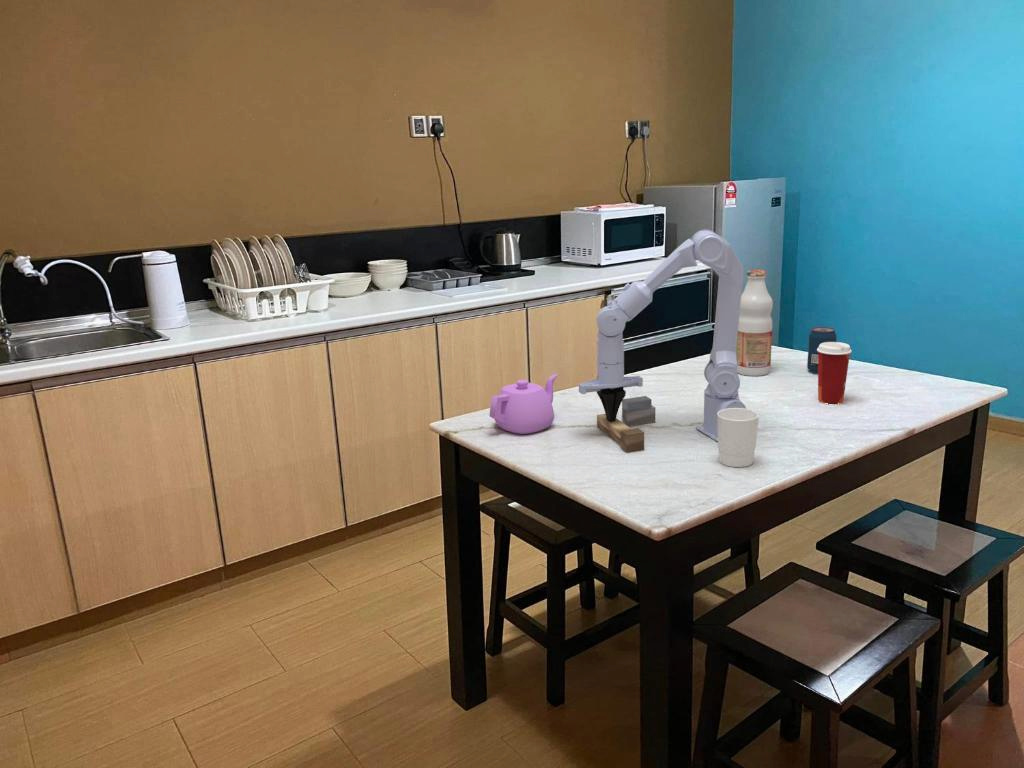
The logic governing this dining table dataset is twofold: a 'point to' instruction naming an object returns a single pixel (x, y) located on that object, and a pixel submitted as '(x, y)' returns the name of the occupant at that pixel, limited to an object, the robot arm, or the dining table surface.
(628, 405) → the bar
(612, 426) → the arm
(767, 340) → the fruit juice
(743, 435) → the white cup
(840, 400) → the paper cup
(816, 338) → the soda can
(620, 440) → the brown grey blocky piece
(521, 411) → the teapot
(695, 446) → the dining table surface
